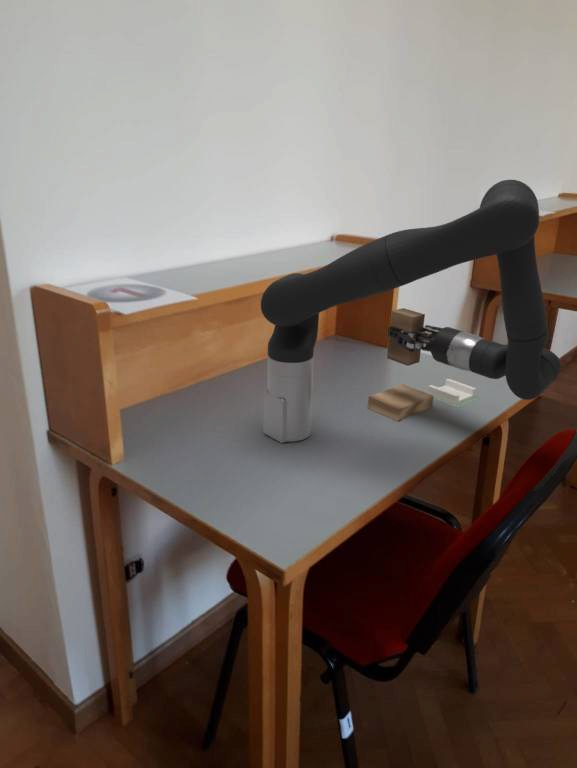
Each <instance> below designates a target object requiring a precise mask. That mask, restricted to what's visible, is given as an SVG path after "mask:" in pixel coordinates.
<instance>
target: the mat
mask: <svg viewBox="0 0 577 768" xmlns="http://www.w3.org/2000/svg"><path fill="white" fill-rule="evenodd" d="M426 393H428V391H427V392H426ZM479 399H480V397H478V396H476V395H475V398H472V399H470V400H467V401H465V402H462V403H460V404H458V405H452V404H450V403H447V402H444V401H442V400H439V399H437V398H434V397H433V400H436V401H439V402H442V403H444V404H447V405H449V406H452V407H454V408H460V407H462V406H465V405H467V404H469V403H472V402H475V401H476V400H479Z"/></svg>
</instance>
